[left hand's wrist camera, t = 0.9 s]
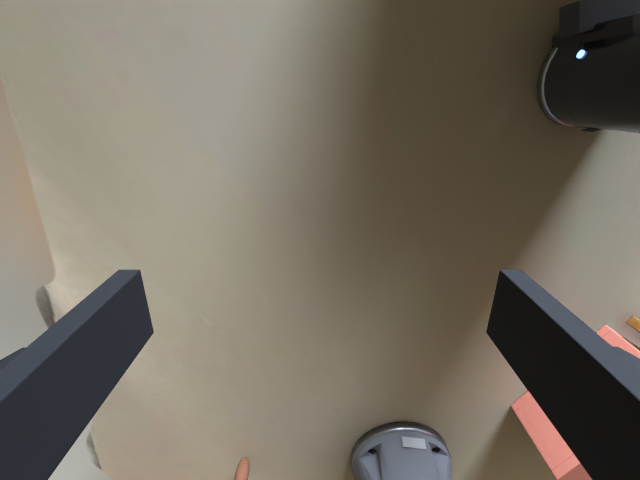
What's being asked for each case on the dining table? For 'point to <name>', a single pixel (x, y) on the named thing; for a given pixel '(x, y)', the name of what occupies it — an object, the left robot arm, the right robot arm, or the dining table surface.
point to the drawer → (636, 324)
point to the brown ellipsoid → (242, 470)
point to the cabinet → (544, 433)
